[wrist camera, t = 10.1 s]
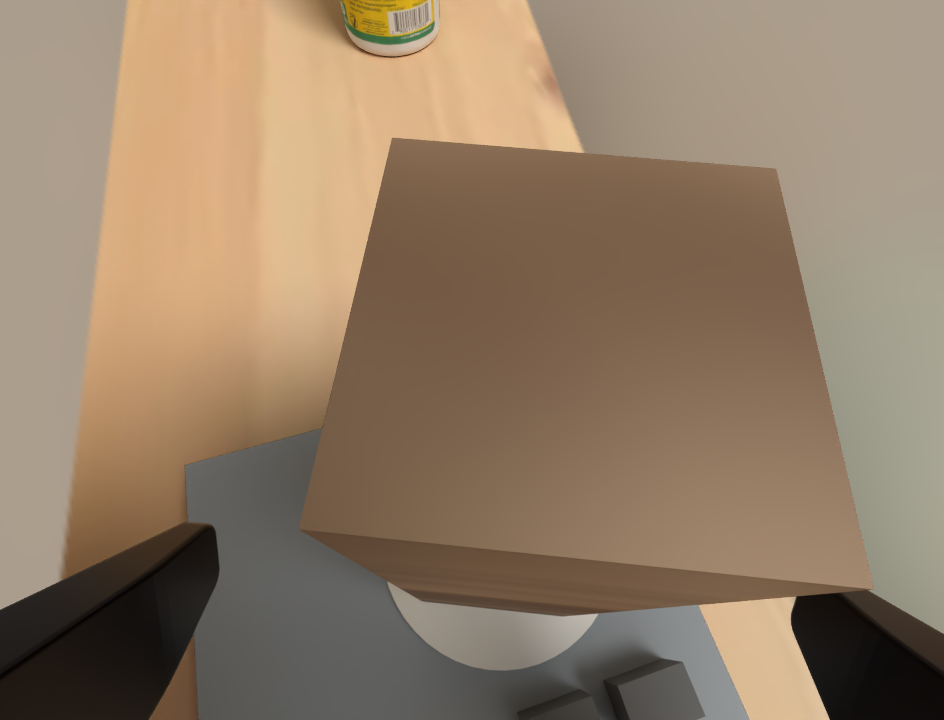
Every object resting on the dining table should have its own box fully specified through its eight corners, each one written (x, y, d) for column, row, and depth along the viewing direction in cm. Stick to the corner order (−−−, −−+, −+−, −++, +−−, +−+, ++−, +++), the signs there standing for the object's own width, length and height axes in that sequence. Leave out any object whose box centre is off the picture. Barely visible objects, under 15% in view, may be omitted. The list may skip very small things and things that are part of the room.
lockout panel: (740, 738, 15) (795, 760, 12) (233, 942, 13) (179, 1017, 10) (579, 371, 20) (595, 336, 17) (201, 474, 18) (160, 451, 15)
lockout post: (562, 616, 15) (874, 589, 4) (422, 601, 15) (298, 529, 4) (565, 476, 17) (775, 169, 5) (439, 464, 17) (392, 138, 6)
